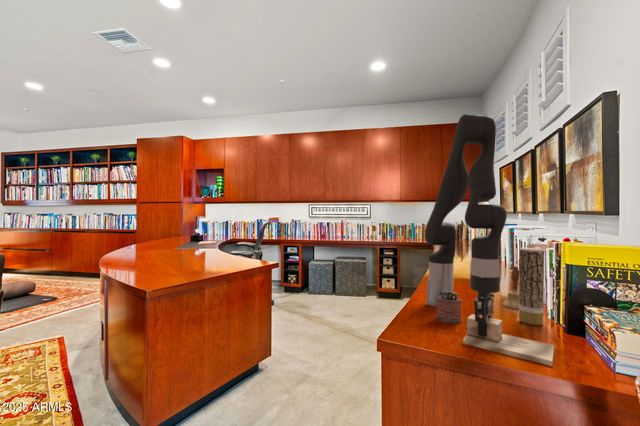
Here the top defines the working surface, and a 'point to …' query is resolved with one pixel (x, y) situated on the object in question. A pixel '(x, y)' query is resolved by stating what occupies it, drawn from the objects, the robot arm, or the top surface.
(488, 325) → the beige rectangular block
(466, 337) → the birch board
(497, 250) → the robot arm
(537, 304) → the bark textured post
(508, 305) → the hand bell
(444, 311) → the lighter
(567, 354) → the top surface
